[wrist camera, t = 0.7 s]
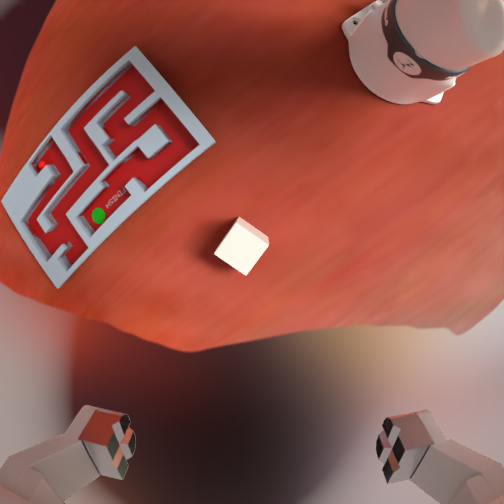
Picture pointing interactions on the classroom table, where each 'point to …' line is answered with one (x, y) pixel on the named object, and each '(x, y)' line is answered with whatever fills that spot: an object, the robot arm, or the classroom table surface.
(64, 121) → the maze game
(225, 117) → the classroom table surface
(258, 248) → the cream cube
